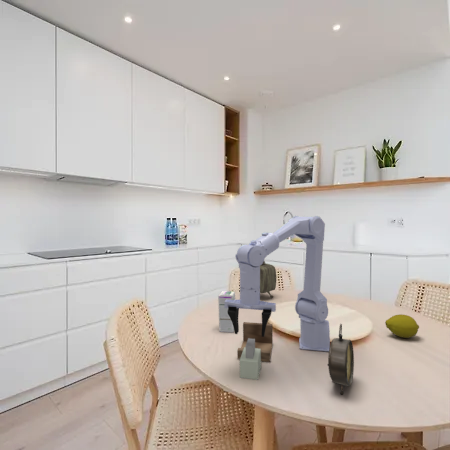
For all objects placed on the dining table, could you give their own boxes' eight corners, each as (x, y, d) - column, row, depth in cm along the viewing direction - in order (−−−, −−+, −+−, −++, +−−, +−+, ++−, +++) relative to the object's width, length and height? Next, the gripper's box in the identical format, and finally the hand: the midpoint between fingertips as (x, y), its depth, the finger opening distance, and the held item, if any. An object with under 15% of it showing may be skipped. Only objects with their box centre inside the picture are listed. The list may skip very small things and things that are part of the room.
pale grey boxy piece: (260, 365, 87) (260, 337, 87) (257, 380, 79) (257, 349, 79) (244, 363, 88) (244, 335, 88) (239, 378, 81) (239, 347, 80)
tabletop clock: (276, 298, 154) (276, 251, 153) (265, 302, 147) (265, 253, 146) (255, 293, 164) (255, 249, 163) (244, 296, 158) (244, 250, 157)
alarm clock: (348, 399, 70) (348, 333, 70) (325, 392, 73) (324, 329, 73) (355, 377, 80) (355, 318, 79) (334, 372, 83) (334, 315, 82)
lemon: (416, 334, 107) (416, 312, 106) (423, 343, 99) (423, 320, 99) (383, 330, 110) (383, 310, 110) (387, 339, 103) (387, 317, 102)
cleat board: (272, 343, 101) (272, 324, 100) (269, 362, 89) (269, 339, 88) (244, 341, 103) (243, 322, 103) (237, 358, 91) (237, 336, 91)
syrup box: (233, 332, 111) (233, 295, 110) (218, 331, 112) (218, 294, 111) (236, 327, 116) (235, 291, 116) (221, 326, 117) (221, 290, 117)
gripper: (221, 288, 81) (221, 337, 82) (274, 292, 78) (274, 342, 78) (227, 283, 88) (227, 327, 88) (276, 285, 84) (276, 332, 85)
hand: (249, 334), depth 84 cm, fingers open, 7 cm apart
